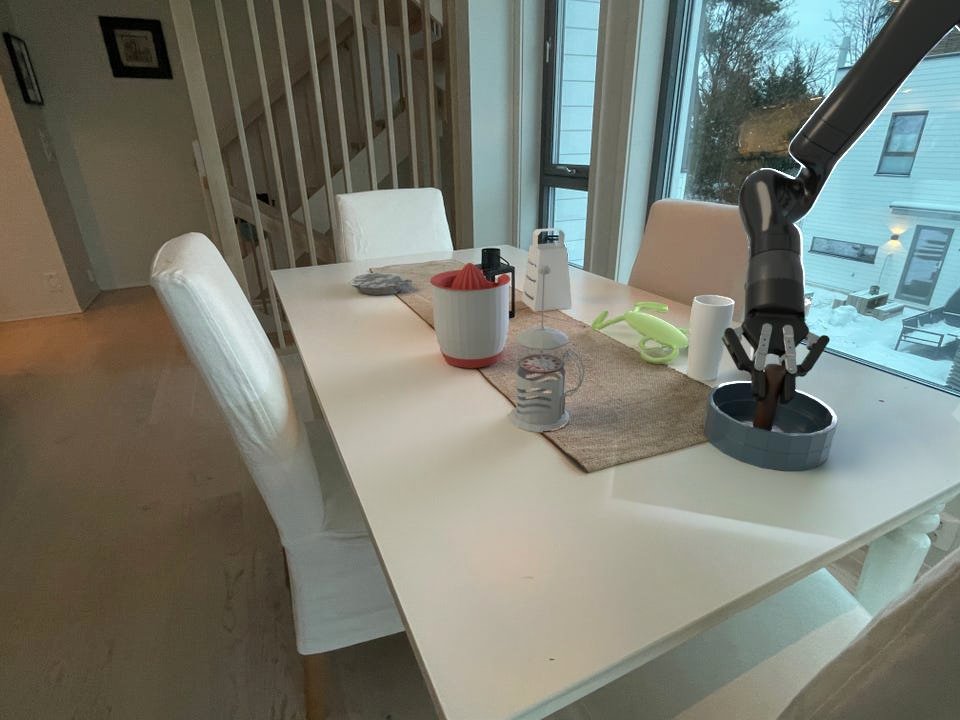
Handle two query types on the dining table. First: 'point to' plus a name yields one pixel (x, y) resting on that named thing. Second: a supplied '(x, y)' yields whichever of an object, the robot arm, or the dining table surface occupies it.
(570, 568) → the dining table surface
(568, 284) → the grater
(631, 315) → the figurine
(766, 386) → the stirring muddler
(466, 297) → the citrus juicer
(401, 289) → the brain slice
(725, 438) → the bowl
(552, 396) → the french press
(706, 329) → the drinking glass
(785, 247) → the robot arm
